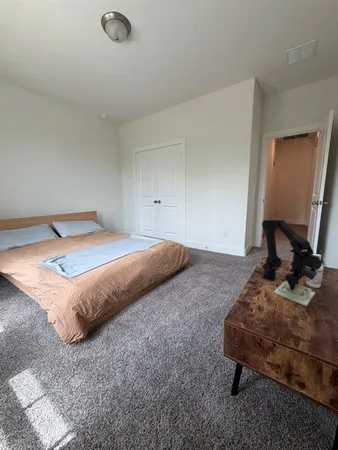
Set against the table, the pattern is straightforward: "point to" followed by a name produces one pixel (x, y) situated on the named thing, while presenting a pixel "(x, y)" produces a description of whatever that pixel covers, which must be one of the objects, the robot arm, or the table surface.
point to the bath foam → (318, 278)
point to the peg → (295, 289)
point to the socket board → (294, 297)
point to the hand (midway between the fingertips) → (294, 287)
